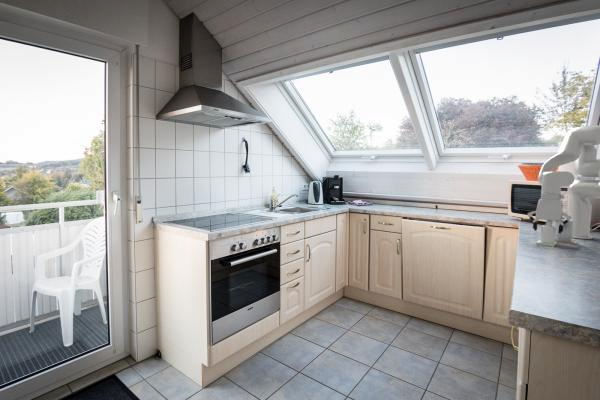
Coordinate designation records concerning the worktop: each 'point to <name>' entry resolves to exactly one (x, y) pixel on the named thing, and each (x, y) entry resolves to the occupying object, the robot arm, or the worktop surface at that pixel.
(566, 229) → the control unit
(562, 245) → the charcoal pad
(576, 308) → the worktop surface
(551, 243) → the sage pad
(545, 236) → the eye dropper bottle
